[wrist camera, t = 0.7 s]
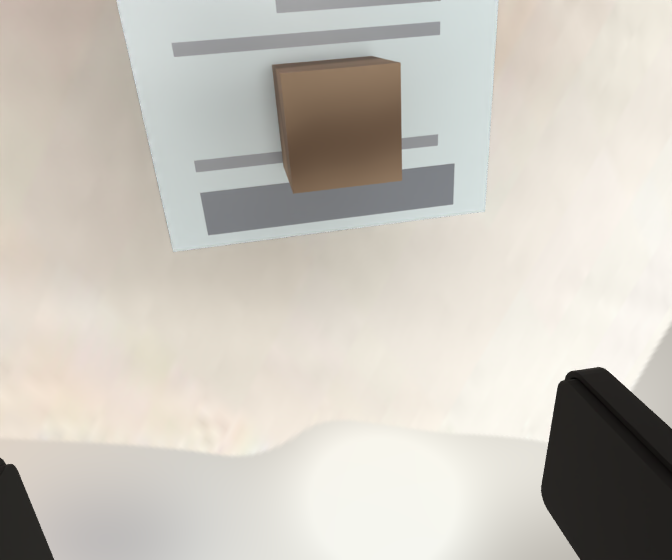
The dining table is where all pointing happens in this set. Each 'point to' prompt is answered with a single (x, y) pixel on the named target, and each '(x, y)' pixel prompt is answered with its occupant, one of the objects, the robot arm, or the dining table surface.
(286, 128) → the walnut cube
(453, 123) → the letter
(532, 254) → the dining table surface
